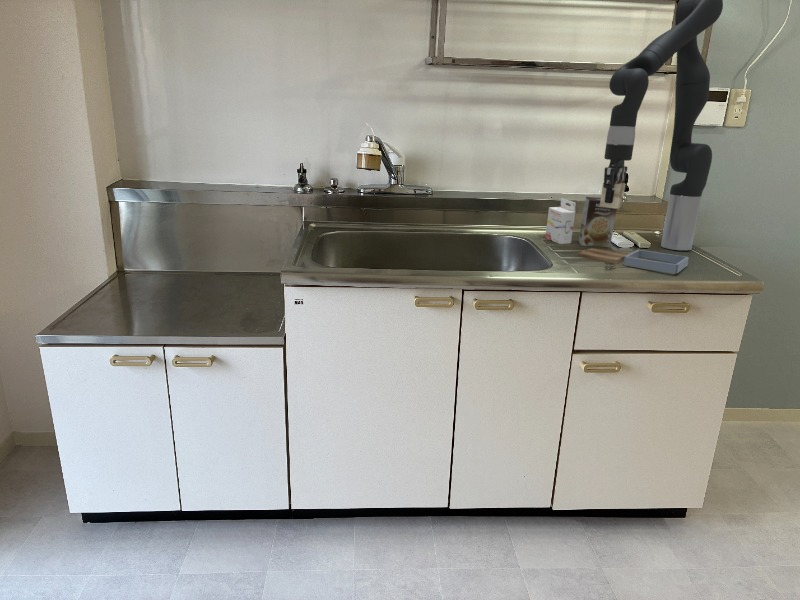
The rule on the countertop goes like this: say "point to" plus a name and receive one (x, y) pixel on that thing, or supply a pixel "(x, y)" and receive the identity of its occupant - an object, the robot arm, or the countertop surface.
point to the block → (617, 196)
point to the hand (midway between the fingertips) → (611, 201)
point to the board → (603, 255)
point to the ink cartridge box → (561, 222)
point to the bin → (655, 265)
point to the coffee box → (596, 224)
